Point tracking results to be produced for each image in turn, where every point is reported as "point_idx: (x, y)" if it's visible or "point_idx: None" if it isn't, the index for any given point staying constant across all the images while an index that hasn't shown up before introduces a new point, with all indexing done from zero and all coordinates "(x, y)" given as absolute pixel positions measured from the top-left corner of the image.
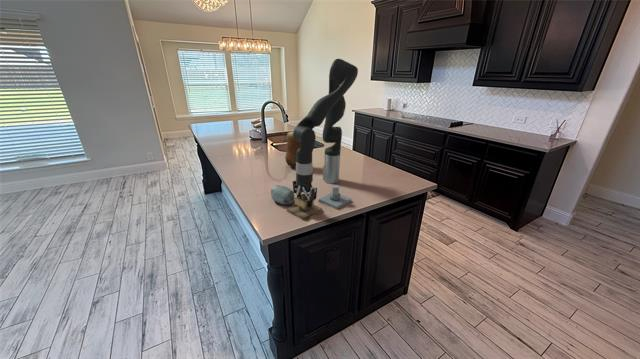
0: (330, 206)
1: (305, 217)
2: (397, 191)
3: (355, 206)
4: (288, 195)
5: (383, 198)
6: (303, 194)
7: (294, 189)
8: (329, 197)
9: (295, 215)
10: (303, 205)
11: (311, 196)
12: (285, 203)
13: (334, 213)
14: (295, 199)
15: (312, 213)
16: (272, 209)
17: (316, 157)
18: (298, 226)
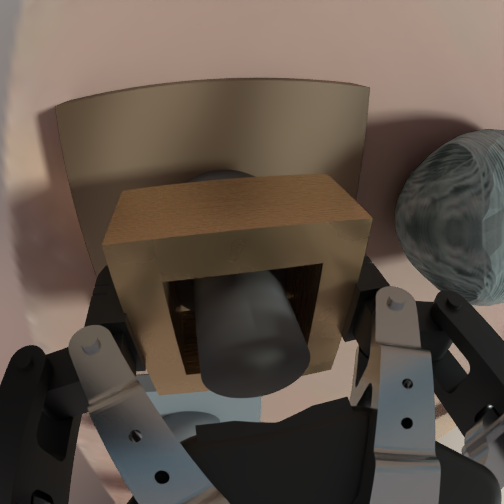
0: (146, 376)
1: (58, 122)
2: (125, 490)
3: (86, 425)
4: (474, 220)
5: (103, 472)
6: (289, 369)
7: (474, 338)
8: (223, 416)
9: (210, 79)
10: (137, 207)
11: (16, 417)
12: (433, 153)
13: (57, 345)
14: (347, 208)
15: (81, 228)
16: (455, 41)
17: (446, 428)
18: (33, 2)
